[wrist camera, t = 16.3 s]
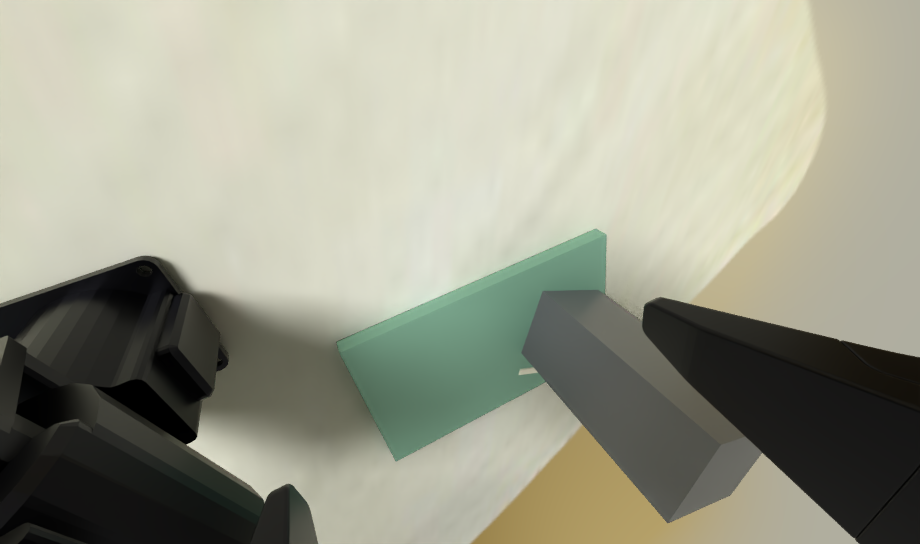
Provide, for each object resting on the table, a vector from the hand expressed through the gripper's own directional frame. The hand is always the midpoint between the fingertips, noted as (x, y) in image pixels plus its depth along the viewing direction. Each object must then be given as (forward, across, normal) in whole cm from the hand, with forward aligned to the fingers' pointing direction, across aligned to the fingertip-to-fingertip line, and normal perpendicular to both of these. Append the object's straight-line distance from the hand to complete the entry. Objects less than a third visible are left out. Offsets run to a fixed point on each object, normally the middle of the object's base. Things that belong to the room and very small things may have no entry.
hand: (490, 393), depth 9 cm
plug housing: (+12, -10, +12) cm, 20 cm away
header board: (+13, -5, +12) cm, 19 cm away
